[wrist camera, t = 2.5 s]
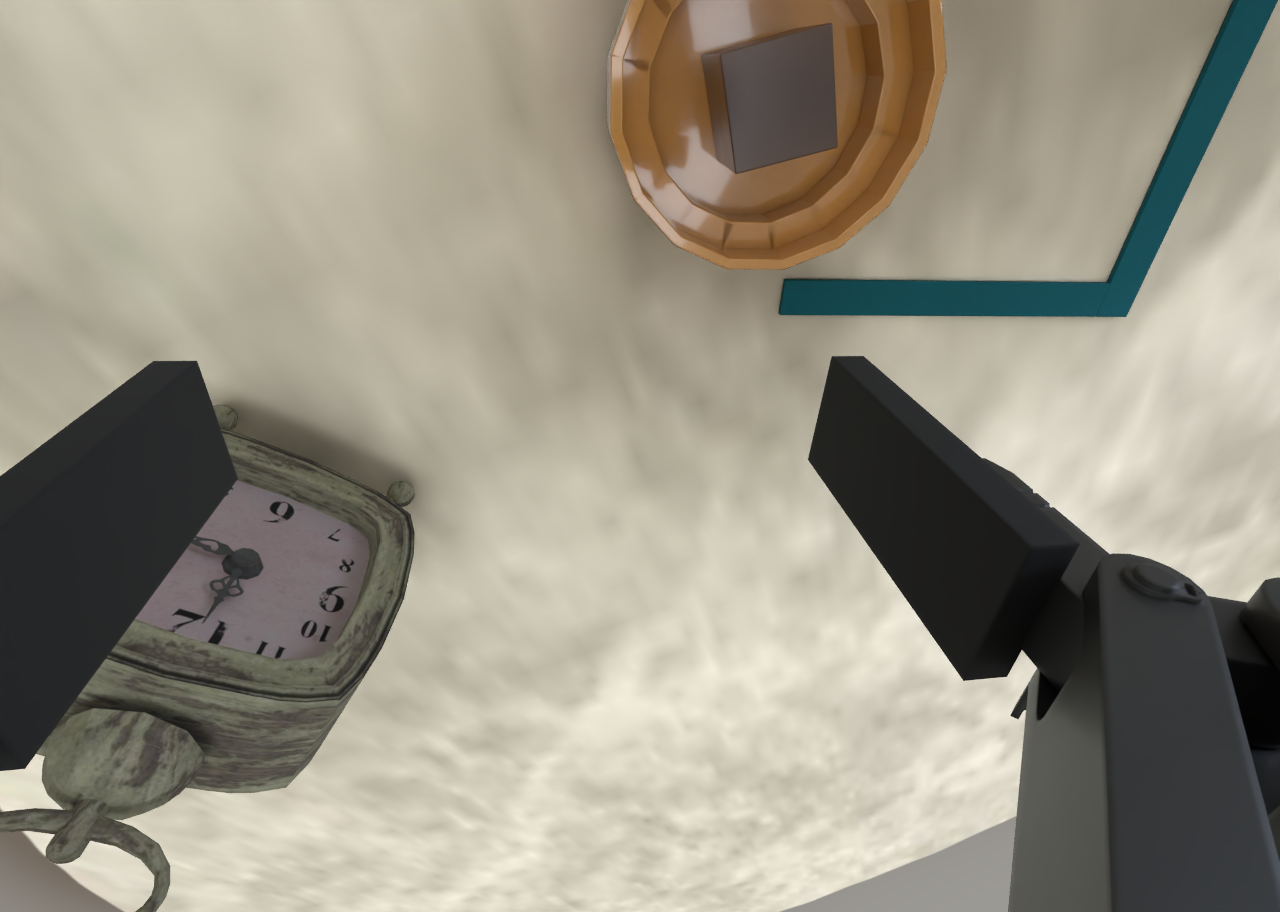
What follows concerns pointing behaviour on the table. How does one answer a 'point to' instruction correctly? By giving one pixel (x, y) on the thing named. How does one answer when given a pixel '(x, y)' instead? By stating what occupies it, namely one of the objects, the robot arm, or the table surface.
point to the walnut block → (772, 98)
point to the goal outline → (1139, 248)
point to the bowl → (788, 191)
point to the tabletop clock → (231, 654)
